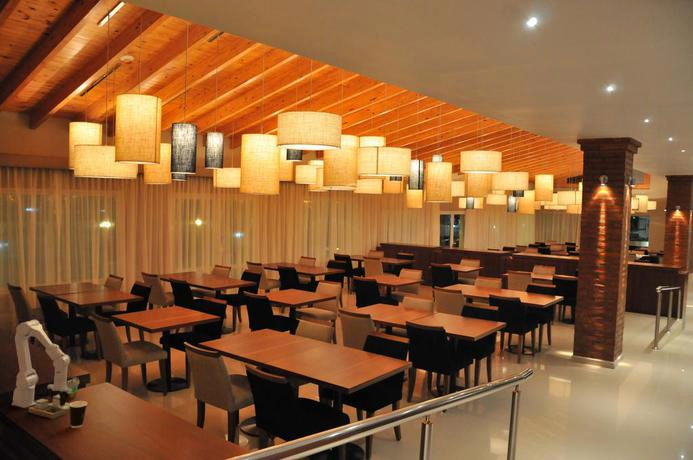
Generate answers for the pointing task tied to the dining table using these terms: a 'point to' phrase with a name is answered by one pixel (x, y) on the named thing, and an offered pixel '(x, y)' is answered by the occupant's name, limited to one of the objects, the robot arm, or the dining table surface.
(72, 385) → the food container
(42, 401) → the beige block
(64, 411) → the grey cubby shelf
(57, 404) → the plug
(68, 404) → the tray
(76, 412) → the dixie cup
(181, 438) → the dining table surface
